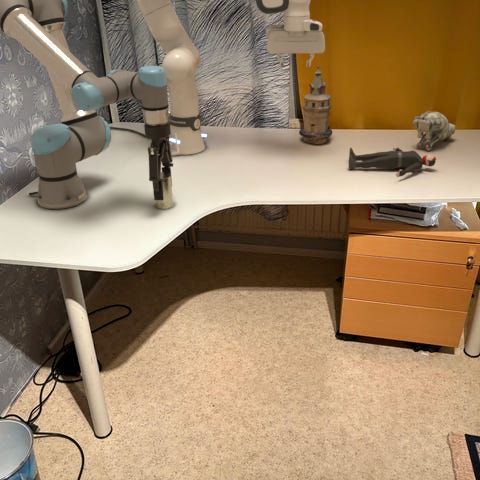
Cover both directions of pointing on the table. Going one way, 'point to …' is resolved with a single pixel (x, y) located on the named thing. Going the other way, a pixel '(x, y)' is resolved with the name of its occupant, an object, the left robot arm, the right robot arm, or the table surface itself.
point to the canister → (166, 192)
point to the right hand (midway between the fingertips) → (295, 66)
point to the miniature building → (316, 112)
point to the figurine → (432, 128)
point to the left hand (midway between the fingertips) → (163, 193)
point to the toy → (391, 160)
